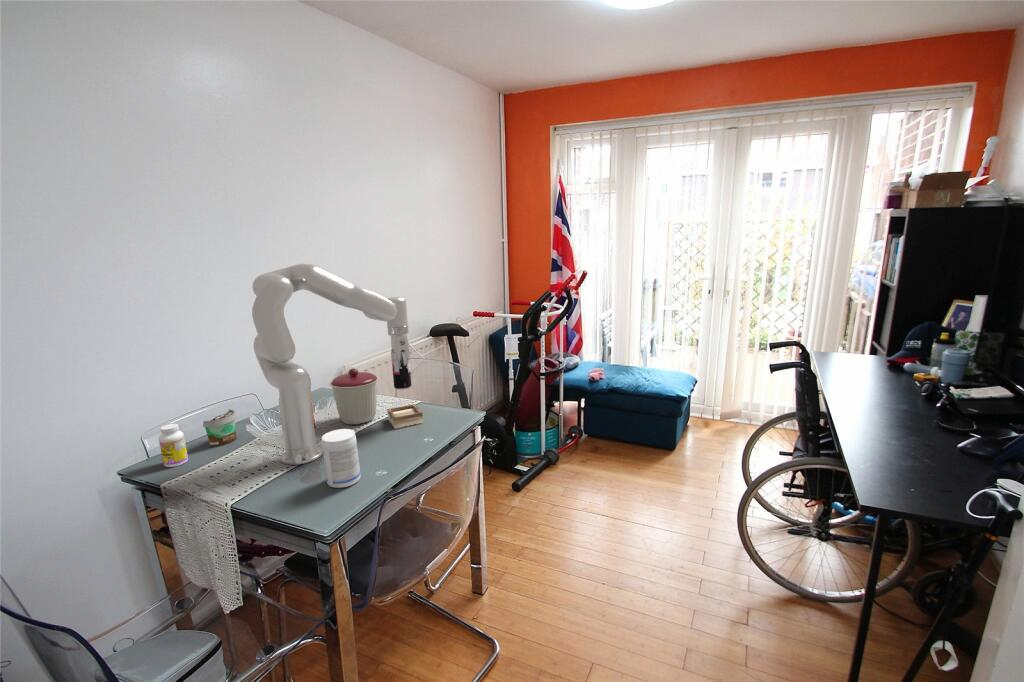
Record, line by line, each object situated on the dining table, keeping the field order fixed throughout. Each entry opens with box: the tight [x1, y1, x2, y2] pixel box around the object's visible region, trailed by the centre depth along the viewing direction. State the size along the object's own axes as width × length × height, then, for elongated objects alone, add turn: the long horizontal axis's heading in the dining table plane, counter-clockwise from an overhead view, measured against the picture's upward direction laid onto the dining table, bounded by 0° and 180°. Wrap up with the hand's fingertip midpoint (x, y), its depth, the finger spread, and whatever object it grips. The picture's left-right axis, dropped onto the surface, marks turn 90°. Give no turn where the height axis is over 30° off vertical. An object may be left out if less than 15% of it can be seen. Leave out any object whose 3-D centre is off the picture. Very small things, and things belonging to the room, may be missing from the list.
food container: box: [202, 408, 238, 447], centre depth 169 cm, size 12×6×10 cm, turn 168°
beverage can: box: [390, 349, 412, 391], centre depth 180 cm, size 7×7×15 cm
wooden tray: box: [387, 403, 424, 430], centre depth 184 cm, size 11×11×4 cm
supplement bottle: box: [158, 423, 189, 468], centre depth 153 cm, size 7×7×13 cm
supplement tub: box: [320, 428, 362, 489], centre depth 138 cm, size 10×10×15 cm
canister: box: [329, 368, 379, 425], centre depth 185 cm, size 18×18×21 cm
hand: (401, 375), depth 181 cm, fingers closed on beverage can, 6 cm apart
